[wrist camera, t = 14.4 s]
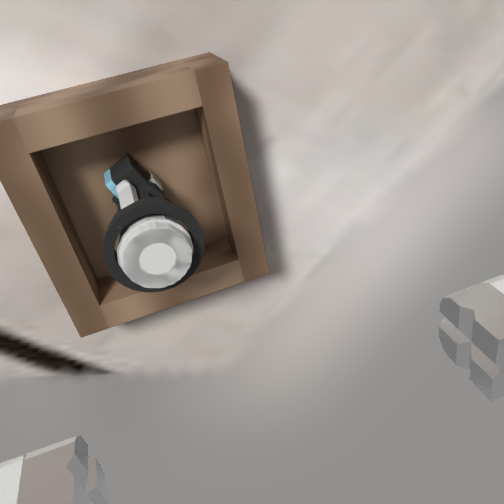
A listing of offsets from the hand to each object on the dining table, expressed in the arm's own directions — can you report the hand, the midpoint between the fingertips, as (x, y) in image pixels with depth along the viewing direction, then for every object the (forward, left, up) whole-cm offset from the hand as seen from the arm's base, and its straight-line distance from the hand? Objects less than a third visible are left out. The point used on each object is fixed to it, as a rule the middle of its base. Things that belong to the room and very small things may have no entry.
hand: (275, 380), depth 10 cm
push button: (+2, +5, -25) cm, 25 cm away
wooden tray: (+2, +5, -25) cm, 26 cm away
